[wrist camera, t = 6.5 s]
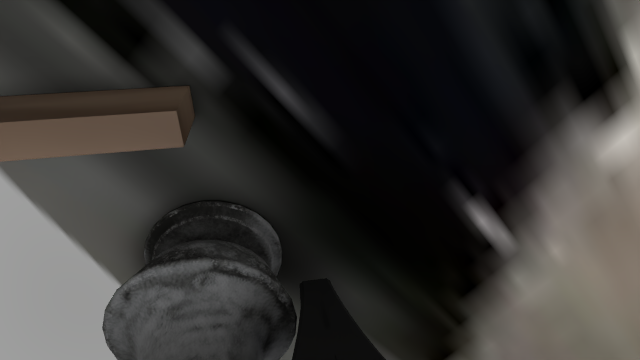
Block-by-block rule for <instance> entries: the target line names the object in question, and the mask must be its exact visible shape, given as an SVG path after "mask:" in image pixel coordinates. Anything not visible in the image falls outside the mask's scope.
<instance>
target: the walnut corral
mask: <svg viewBox="0 0 640 360" xmlns="http://www.w3.org/2000/svg"><path fill="white" fill-rule="evenodd" d="M194 118H195V113H194V108H193V102H192V97H191V92H190V86H174V87H157V88H139V89H122V90H105V91H88V92H70V93H53V94H36V95H19V96H2V97H0V162H1V161H14V160H26V159H38V158H51V157H63V156H76V155H88V154H101V153H113V152H126V151H138V150H151V149H163V148H176V147H184V145H185V143H186V140H187V137H188V134H189V132H190V129H191V126H192V123H193V120H194Z"/></svg>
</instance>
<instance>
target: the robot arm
mask: <svg viewBox="0 0 640 360" xmlns="http://www.w3.org/2000/svg"><path fill="white" fill-rule="evenodd" d="M300 299H301V310H300V319H299V326H298V333H297V339H296V343H295V348H294V353H293V357H292V360H386V359H385V358H384V357H383V356H382V355H381V354H380V352H379V351H378V350H377V349H376V348H375V347H374V345H373V344H372V343H371V342H370V341H369V339H368V338H367V337H366V336H365V334H364V333H363V332H362V330H361V329H360V328H359V326H358V325H357V324H356V322H355V321H354V319H353V318H352V317H351V315H350V314H349V312H348V311H347V309H346V308H345V306H344V305H343V303H342V302H341V300H340V299H339V297H338V295H337V293H336V292H335V290H334V288H333V286H332V284H331V282H330V280H328V279H327V278H325V279H318V280H310V281H303V282H302V283H301V284H300Z"/></svg>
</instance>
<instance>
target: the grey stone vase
mask: <svg viewBox="0 0 640 360" xmlns="http://www.w3.org/2000/svg"><path fill="white" fill-rule="evenodd" d="M144 259H145V265H146V266H145V267H143V268H142V269H141V270H140V271H139V272H138V273H136V274H135V275H134V276H132V277H131V278H130V279H129V280H128V281H127V282H125V283H124V284H123V285H122V286H121V287H120V288H118V289H117V290H116V292H115V294H114V295H113V297H112V299H111V300H110V302H109V304H108V305H107V307H106V309H105V314H104V321H103V327H102V328H103V332H104V335H105V339H106V343H107V346H108V347H109V349H110V350H111V351H112V353H113V354H114V355H115V357H116V358H117V360H279V359H280V358H281V357H282V356H283V355H284V353H285V352H286V351H287V350H288V349H289V347H290V345H291V342H292V340H293V338H294V336H295V333H296V321H297V316H296V312H295V309H294V306H293V302H292V299H291V298H290V296H289V295H288V294H287V292H286V291H285V290H284V288H283V287H282V286H281V283H280V281H279V280H278V279H277V277H276V276H277V274H278V271H279V269H280V266H281V261H282V248H281V244H280V241H279V238H278V235H277V234H276V232H275V231H274V229H273V228H272V226H271V225H270V224H269V223H268V222H267V221H266V220H265V219H263V218H262V217H261V216H260V215H259V214H257V213H255V212H253V211H251V210H249V209H247V208H245V207H243V206H240V205H236V204H231V203H227V202H222V201H203V202H198V203H194V204H189V205H185V206H182V207H180V208H178V209H176V210H174V211H172V212H170V213H168V214H167V215H165V216H164V217H163V218H162V219H161V220H160V221H159V222H158V223H156V224H155V226H154V227H153V229H152V231H151V232H150V234H149V236H148V237H147V239H146V244H145V249H144Z"/></svg>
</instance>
